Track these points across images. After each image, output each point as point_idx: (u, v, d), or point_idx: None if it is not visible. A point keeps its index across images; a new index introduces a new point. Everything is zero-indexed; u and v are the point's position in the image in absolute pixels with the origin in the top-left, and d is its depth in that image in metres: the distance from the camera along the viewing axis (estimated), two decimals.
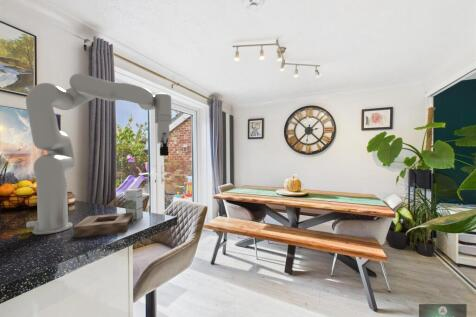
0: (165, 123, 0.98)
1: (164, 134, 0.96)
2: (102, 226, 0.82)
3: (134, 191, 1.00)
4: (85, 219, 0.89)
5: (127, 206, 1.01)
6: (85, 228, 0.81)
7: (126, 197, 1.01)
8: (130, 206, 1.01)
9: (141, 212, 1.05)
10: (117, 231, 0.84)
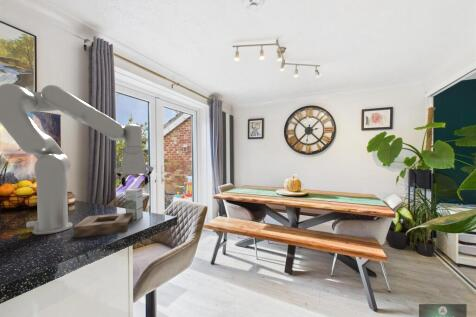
0: None
1: (148, 165, 1.05)
2: (102, 226, 0.82)
3: (134, 191, 1.00)
4: (85, 219, 0.89)
5: (127, 206, 1.01)
6: (85, 228, 0.81)
7: (126, 197, 1.01)
8: (130, 206, 1.01)
9: (141, 212, 1.05)
10: (117, 231, 0.84)
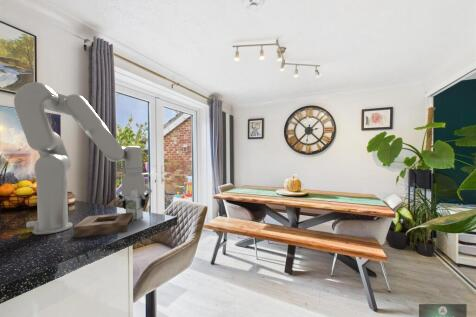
0: (143, 175, 1.05)
1: (147, 187, 1.05)
2: (102, 226, 0.82)
3: (134, 191, 1.00)
4: (85, 219, 0.89)
5: (127, 206, 1.01)
6: (85, 228, 0.81)
7: (126, 197, 1.01)
8: (130, 206, 1.01)
9: (141, 212, 1.05)
10: (117, 231, 0.84)
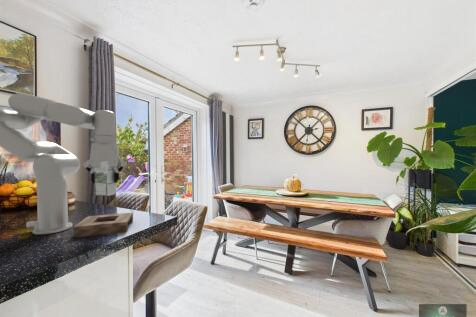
0: (117, 146, 0.91)
1: (121, 159, 0.91)
2: (102, 226, 0.82)
3: (105, 162, 0.86)
4: (85, 219, 0.89)
5: (96, 180, 0.87)
6: (85, 228, 0.81)
7: (95, 170, 0.87)
8: (100, 179, 0.87)
9: (114, 188, 0.91)
10: (117, 231, 0.84)
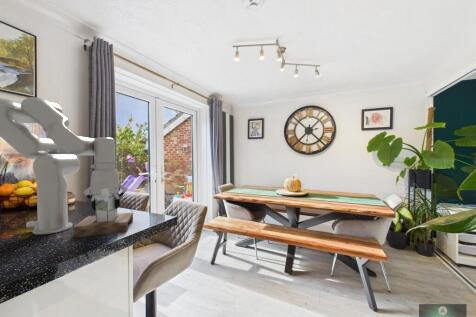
0: (117, 171, 0.91)
1: (121, 185, 0.91)
2: (102, 226, 0.82)
3: (105, 190, 0.86)
4: (85, 219, 0.89)
5: (97, 207, 0.87)
6: (85, 228, 0.81)
7: (96, 197, 0.87)
8: (101, 207, 0.86)
9: (115, 214, 0.90)
10: (117, 231, 0.84)
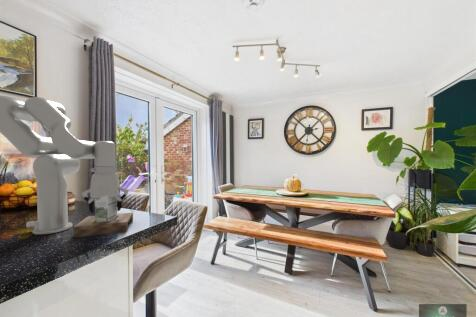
0: (117, 175, 0.91)
1: None
2: (102, 226, 0.82)
3: (105, 197, 0.86)
4: (85, 219, 0.89)
5: (97, 214, 0.87)
6: (85, 228, 0.81)
7: (95, 204, 0.87)
8: (100, 214, 0.87)
9: None
10: (117, 231, 0.84)
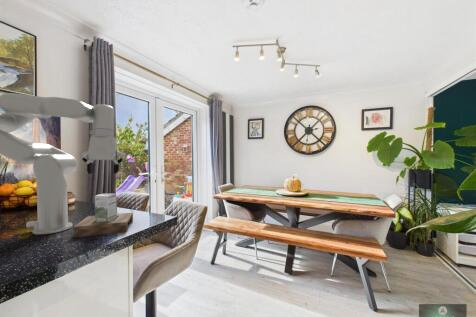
0: (115, 139, 0.94)
1: (119, 151, 0.93)
2: (102, 226, 0.82)
3: (105, 197, 0.86)
4: (85, 219, 0.89)
5: (97, 214, 0.87)
6: (85, 228, 0.81)
7: (95, 204, 0.87)
8: (100, 214, 0.87)
9: None
10: (117, 231, 0.84)
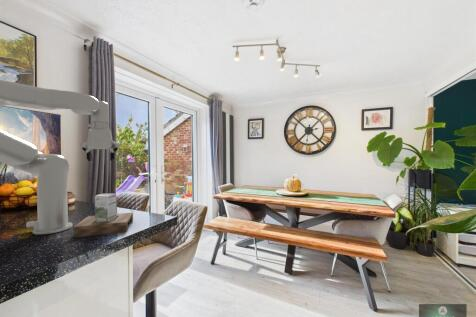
0: (110, 131, 1.08)
1: None
2: (102, 226, 0.82)
3: (105, 197, 0.86)
4: (85, 219, 0.89)
5: (97, 214, 0.87)
6: (85, 228, 0.81)
7: (95, 204, 0.87)
8: (100, 214, 0.87)
9: None
10: (117, 231, 0.84)
